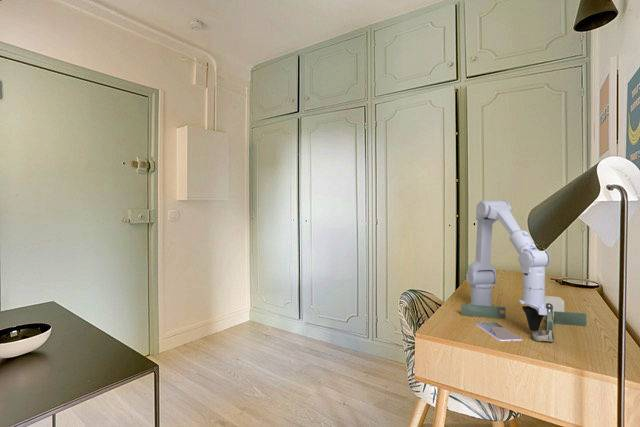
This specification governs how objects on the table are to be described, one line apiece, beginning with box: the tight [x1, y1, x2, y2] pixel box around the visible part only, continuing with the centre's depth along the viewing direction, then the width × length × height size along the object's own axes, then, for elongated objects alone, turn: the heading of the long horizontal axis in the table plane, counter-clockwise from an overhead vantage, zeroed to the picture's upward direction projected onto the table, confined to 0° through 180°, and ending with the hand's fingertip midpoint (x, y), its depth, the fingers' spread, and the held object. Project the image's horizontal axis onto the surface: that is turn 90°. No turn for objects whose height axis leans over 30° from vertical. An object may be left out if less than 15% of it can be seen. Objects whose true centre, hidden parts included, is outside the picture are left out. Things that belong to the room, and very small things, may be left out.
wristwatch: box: [531, 329, 555, 343], centre depth 97 cm, size 4×6×5 cm
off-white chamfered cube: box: [545, 295, 565, 317], centre depth 121 cm, size 6×6×6 cm
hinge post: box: [544, 303, 587, 327], centre depth 110 cm, size 2×12×7 cm, turn 74°
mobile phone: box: [475, 321, 523, 342], centre depth 104 cm, size 8×1×15 cm
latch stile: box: [460, 303, 507, 320], centre depth 119 cm, size 1×15×4 cm, turn 74°
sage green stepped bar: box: [546, 311, 554, 333], centre depth 105 cm, size 12×2×4 cm, turn 146°
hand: (533, 330), depth 101 cm, fingers closed
